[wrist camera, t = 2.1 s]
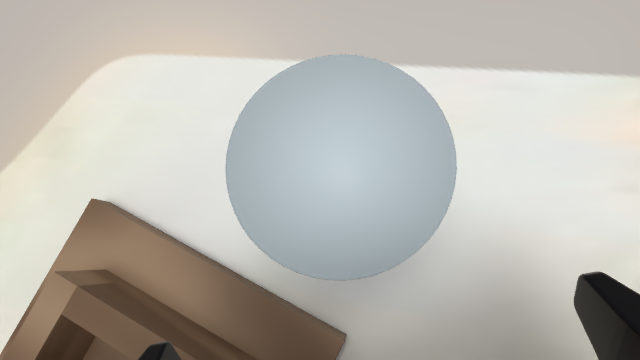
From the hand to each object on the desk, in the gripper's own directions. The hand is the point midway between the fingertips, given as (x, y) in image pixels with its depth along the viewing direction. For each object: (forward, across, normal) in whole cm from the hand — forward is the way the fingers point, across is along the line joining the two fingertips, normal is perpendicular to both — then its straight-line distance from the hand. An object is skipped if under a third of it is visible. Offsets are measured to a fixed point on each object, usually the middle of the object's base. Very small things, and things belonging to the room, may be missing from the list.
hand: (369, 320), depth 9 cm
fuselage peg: (+10, 0, +6) cm, 12 cm away
